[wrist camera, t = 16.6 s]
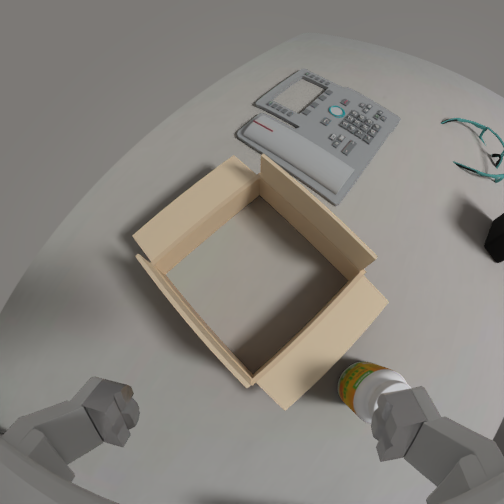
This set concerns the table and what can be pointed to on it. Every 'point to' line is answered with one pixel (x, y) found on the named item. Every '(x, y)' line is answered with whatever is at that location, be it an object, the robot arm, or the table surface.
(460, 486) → the robot arm
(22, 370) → the table surface
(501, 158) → the sunglasses
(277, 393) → the carton
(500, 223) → the battery
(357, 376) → the supplement bottle
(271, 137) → the office telephone
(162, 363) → the table surface
